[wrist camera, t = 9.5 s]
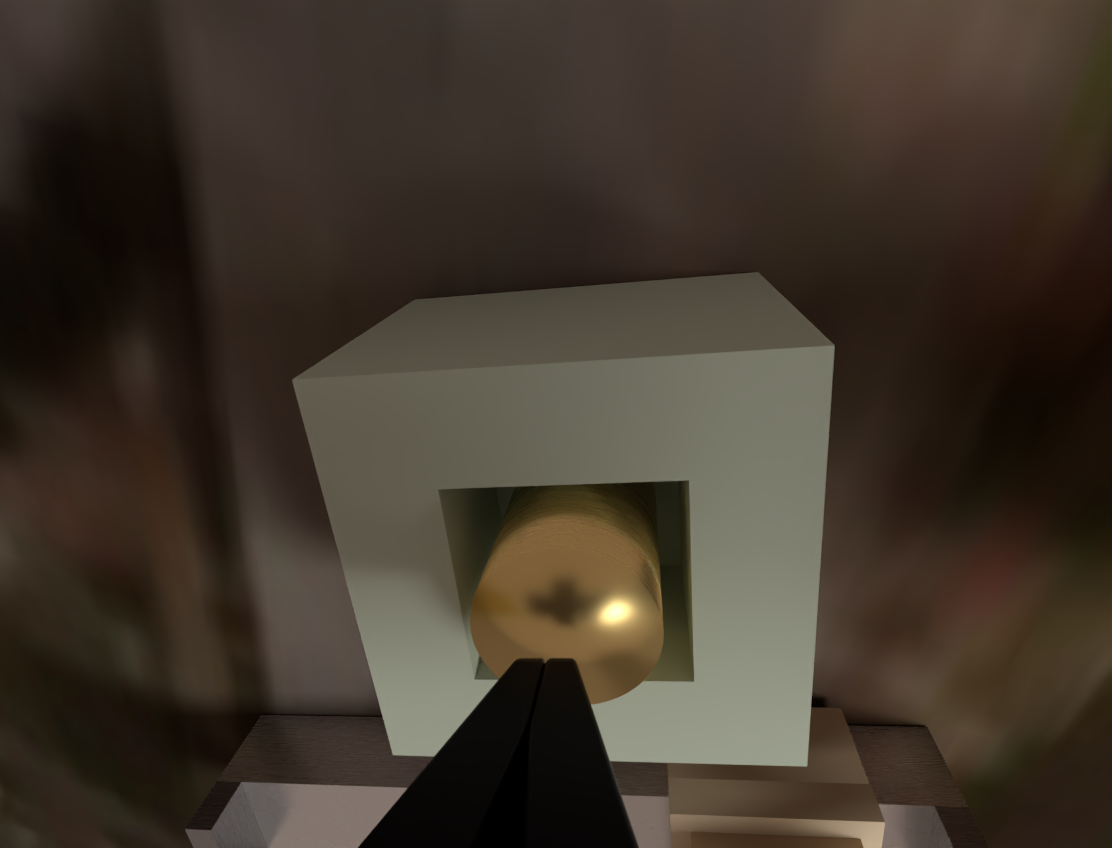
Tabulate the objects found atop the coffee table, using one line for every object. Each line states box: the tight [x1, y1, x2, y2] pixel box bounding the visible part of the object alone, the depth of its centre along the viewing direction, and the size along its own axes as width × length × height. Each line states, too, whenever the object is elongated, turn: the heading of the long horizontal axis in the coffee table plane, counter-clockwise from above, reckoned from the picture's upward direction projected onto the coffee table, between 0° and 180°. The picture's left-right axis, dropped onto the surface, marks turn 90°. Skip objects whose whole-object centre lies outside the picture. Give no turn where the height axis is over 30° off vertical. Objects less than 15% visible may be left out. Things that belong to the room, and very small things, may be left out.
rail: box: [185, 715, 989, 848], centre depth 19 cm, size 21×3×4 cm, turn 96°
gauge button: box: [470, 482, 664, 705], centre depth 12 cm, size 3×3×4 cm
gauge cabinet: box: [292, 272, 835, 767], centre depth 14 cm, size 8×8×6 cm
